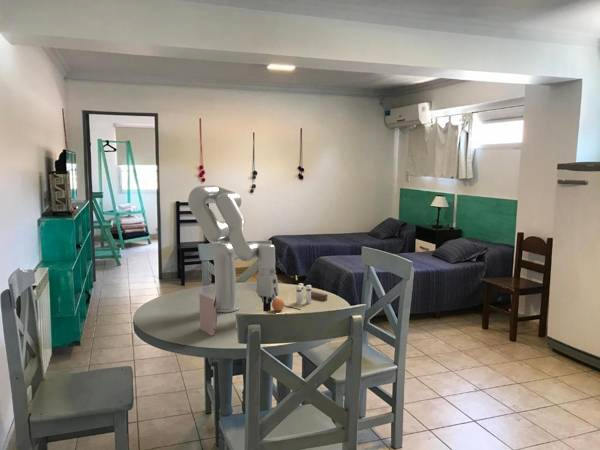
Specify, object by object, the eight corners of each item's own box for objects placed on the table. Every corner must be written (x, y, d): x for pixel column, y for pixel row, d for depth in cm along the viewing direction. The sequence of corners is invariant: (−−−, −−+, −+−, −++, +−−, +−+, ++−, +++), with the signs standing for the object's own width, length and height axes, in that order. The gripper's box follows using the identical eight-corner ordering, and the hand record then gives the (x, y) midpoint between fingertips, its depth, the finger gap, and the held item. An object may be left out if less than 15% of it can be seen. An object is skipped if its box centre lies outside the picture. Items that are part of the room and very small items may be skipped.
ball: (278, 313, 221) (278, 300, 221) (269, 310, 225) (269, 298, 224) (287, 310, 226) (287, 298, 225) (277, 308, 230) (277, 295, 229)
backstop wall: (324, 300, 243) (325, 295, 243) (306, 296, 251) (306, 291, 251) (327, 300, 245) (327, 294, 245) (309, 296, 252) (309, 290, 252)
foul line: (300, 310, 227) (300, 309, 227) (278, 304, 236) (278, 304, 236) (301, 309, 227) (301, 309, 227) (279, 304, 236) (279, 303, 236)
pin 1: (301, 302, 240) (301, 284, 239) (297, 301, 242) (297, 283, 241) (304, 301, 242) (304, 283, 241) (300, 300, 244) (300, 283, 243)
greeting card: (215, 336, 189) (215, 299, 188) (196, 336, 189) (196, 299, 187) (218, 327, 201) (218, 292, 199) (200, 327, 200) (200, 292, 198)
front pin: (299, 305, 235) (299, 287, 234) (295, 304, 237) (295, 286, 236) (302, 304, 237) (302, 286, 236) (298, 303, 239) (298, 285, 238)
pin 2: (308, 304, 237) (309, 286, 236) (304, 303, 239) (305, 285, 238) (311, 303, 239) (312, 285, 238) (308, 302, 240) (308, 284, 239)
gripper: (284, 272, 215) (284, 312, 217) (261, 268, 225) (261, 306, 227) (272, 275, 209) (272, 316, 211) (249, 270, 219) (249, 309, 221)
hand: (267, 310), depth 219 cm, fingers closed
